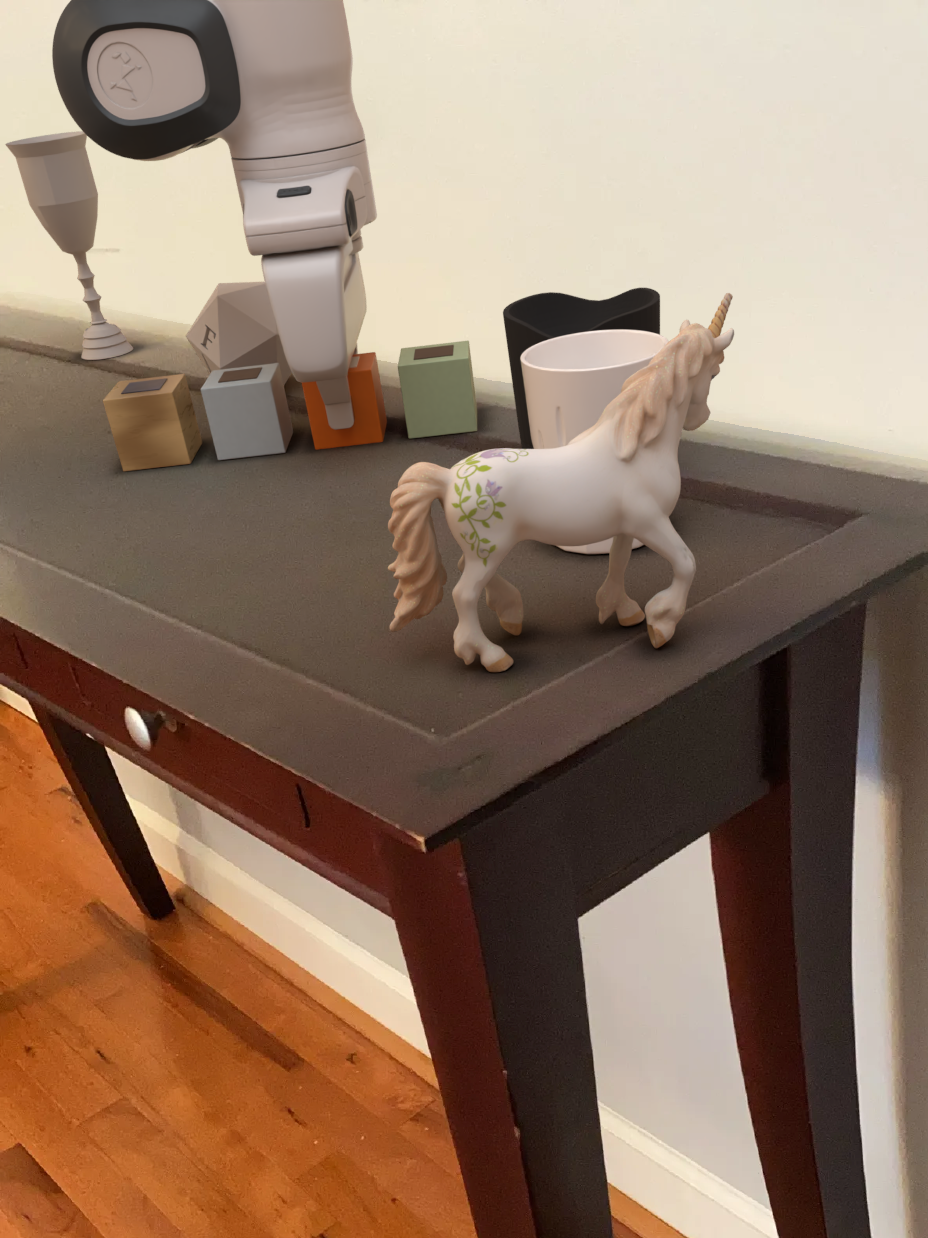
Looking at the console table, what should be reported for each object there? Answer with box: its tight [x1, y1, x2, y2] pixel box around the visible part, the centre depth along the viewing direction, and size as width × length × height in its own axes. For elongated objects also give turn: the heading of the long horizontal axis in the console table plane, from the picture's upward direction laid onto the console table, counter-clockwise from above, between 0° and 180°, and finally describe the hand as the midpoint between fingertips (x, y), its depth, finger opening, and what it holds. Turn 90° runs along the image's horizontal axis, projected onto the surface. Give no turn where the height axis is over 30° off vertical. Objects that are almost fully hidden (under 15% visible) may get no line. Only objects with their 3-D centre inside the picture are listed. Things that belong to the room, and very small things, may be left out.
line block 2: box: [200, 363, 294, 461], centre depth 92 cm, size 5×5×5 cm
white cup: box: [520, 330, 670, 555], centre depth 70 cm, size 8×8×10 cm
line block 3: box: [397, 340, 478, 440], centre depth 92 cm, size 5×5×5 cm
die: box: [185, 281, 292, 386], centre depth 104 cm, size 8×9×10 cm
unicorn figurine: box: [387, 292, 735, 673], centre depth 59 cm, size 7×20×13 cm, turn 114°
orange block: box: [301, 351, 388, 451], centre depth 92 cm, size 5×5×5 cm
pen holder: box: [502, 287, 661, 449], centre depth 79 cm, size 9×9×10 cm
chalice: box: [4, 130, 134, 361], centre depth 119 cm, size 7×7×18 cm
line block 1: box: [102, 373, 203, 472], centre depth 93 cm, size 5×5×5 cm
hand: (346, 413), depth 93 cm, fingers closed on orange block, 5 cm apart
